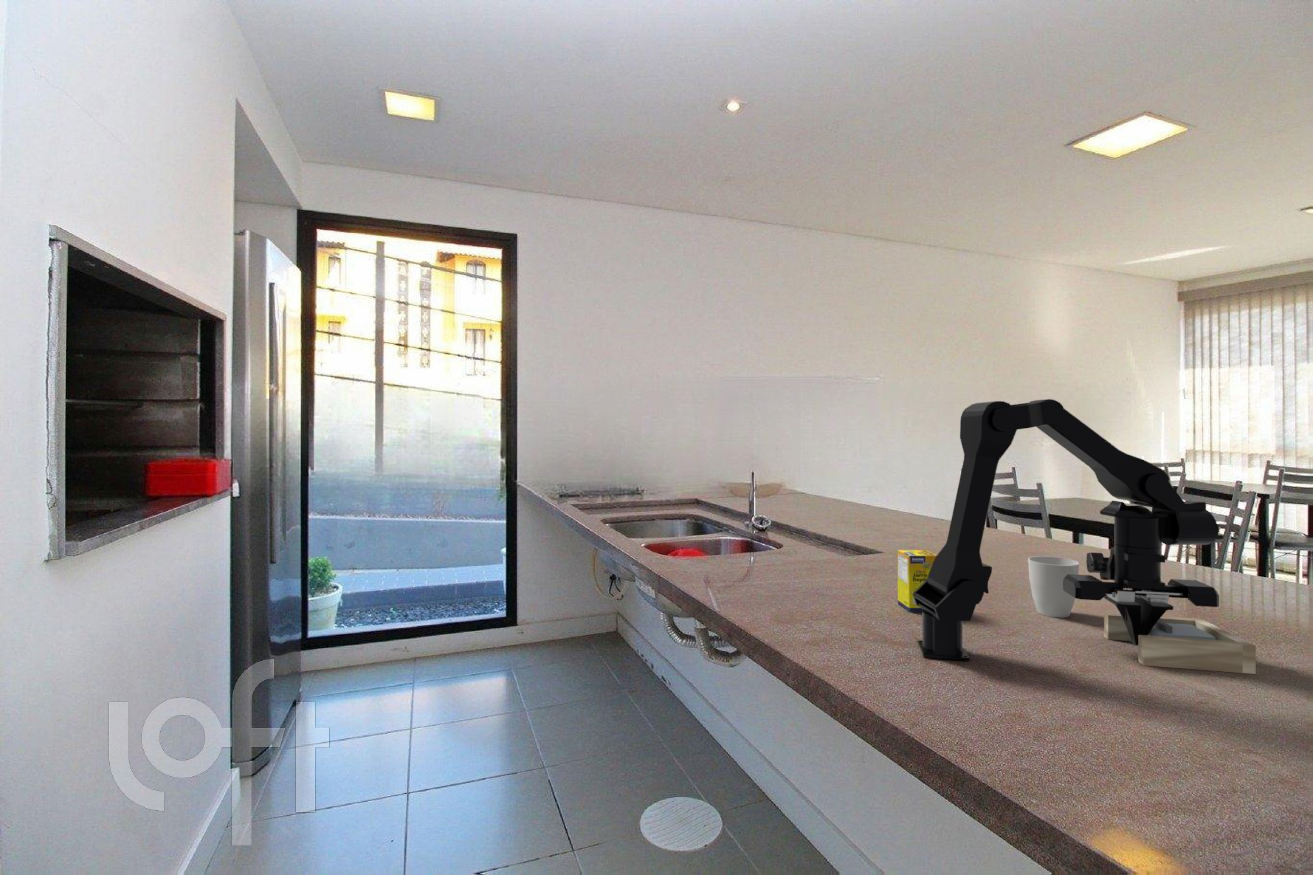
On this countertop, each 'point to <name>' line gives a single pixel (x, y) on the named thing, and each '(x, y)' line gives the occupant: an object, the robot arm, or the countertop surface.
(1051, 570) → the cup
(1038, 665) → the countertop surface
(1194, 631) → the sliding lid
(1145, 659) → the tray
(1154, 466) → the robot arm
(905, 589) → the supplement box
